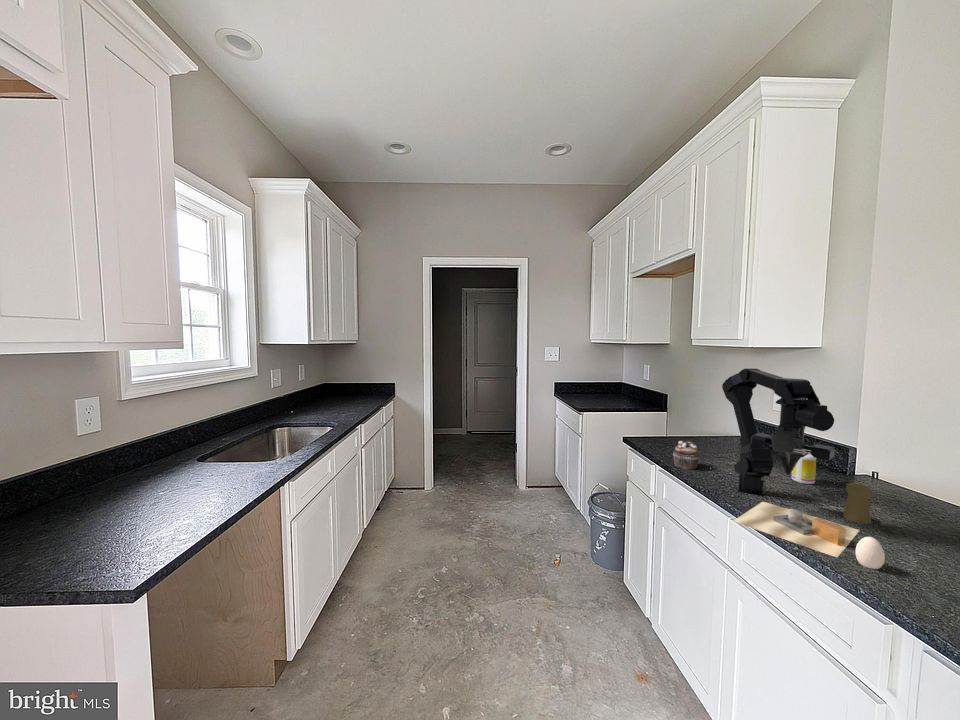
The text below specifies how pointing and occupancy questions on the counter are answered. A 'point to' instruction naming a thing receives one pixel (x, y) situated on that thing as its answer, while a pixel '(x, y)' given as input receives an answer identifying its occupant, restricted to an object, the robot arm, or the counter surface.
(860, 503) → the cork
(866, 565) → the egg
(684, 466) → the cupcake
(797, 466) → the supplement bottle
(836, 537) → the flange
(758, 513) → the board
